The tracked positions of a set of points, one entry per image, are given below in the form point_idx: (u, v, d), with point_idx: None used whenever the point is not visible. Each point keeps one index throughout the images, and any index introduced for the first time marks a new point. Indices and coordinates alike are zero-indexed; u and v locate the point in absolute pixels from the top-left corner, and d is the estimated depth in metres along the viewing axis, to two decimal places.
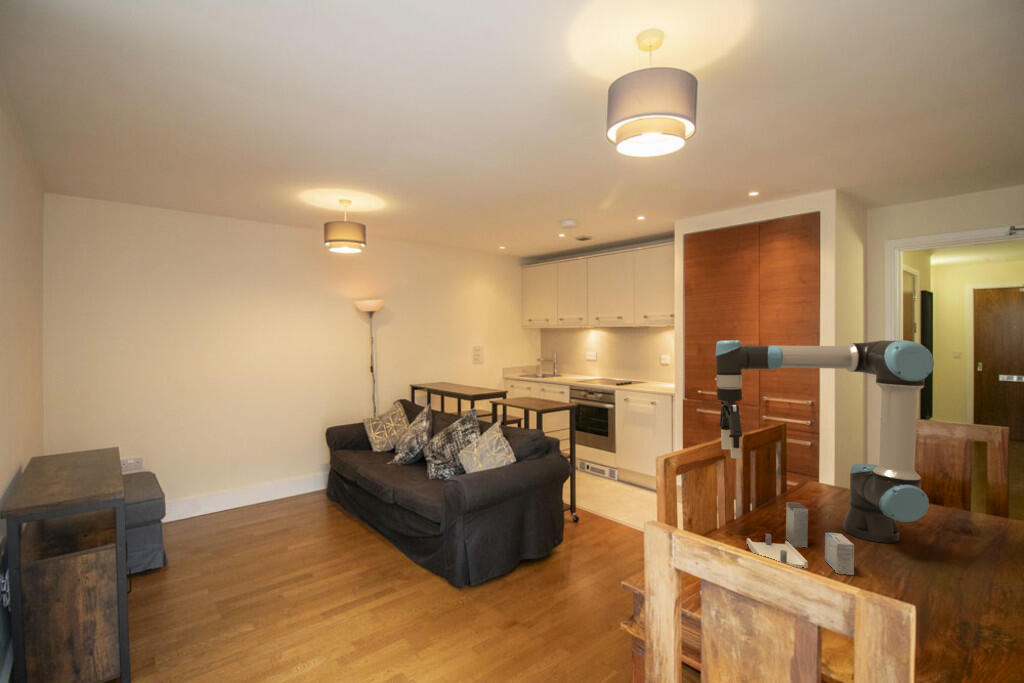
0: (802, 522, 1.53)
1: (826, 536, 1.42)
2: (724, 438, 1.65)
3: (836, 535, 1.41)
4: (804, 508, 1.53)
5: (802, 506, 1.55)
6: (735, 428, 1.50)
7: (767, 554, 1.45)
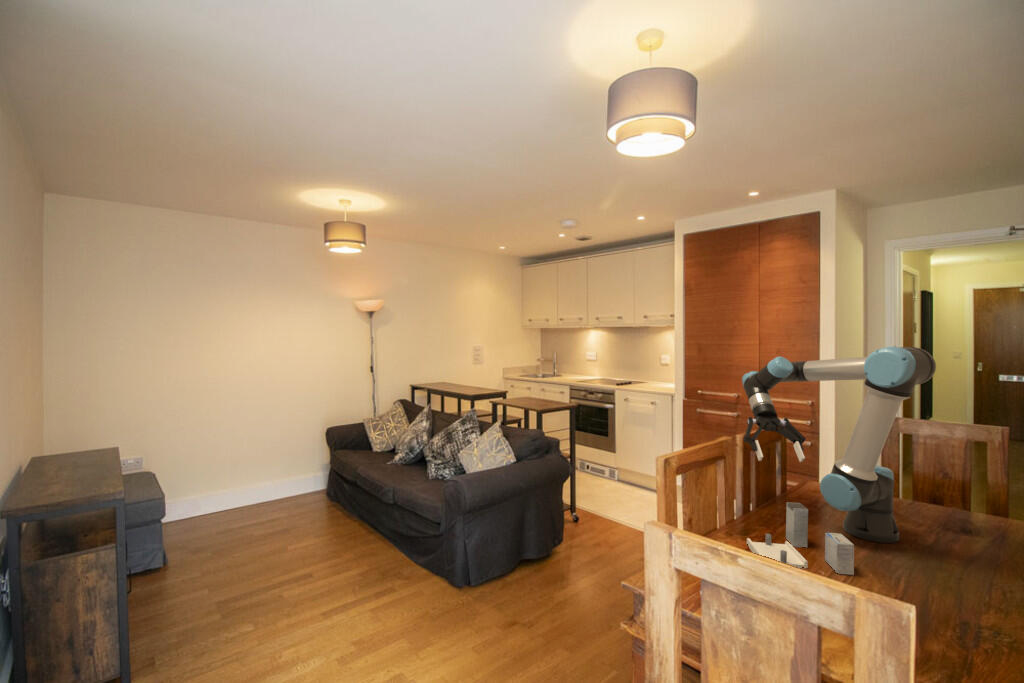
0: (802, 522, 1.53)
1: (826, 536, 1.42)
2: (796, 451, 1.69)
3: (836, 535, 1.41)
4: (804, 508, 1.53)
5: (802, 506, 1.55)
6: (745, 435, 1.74)
7: (767, 554, 1.45)
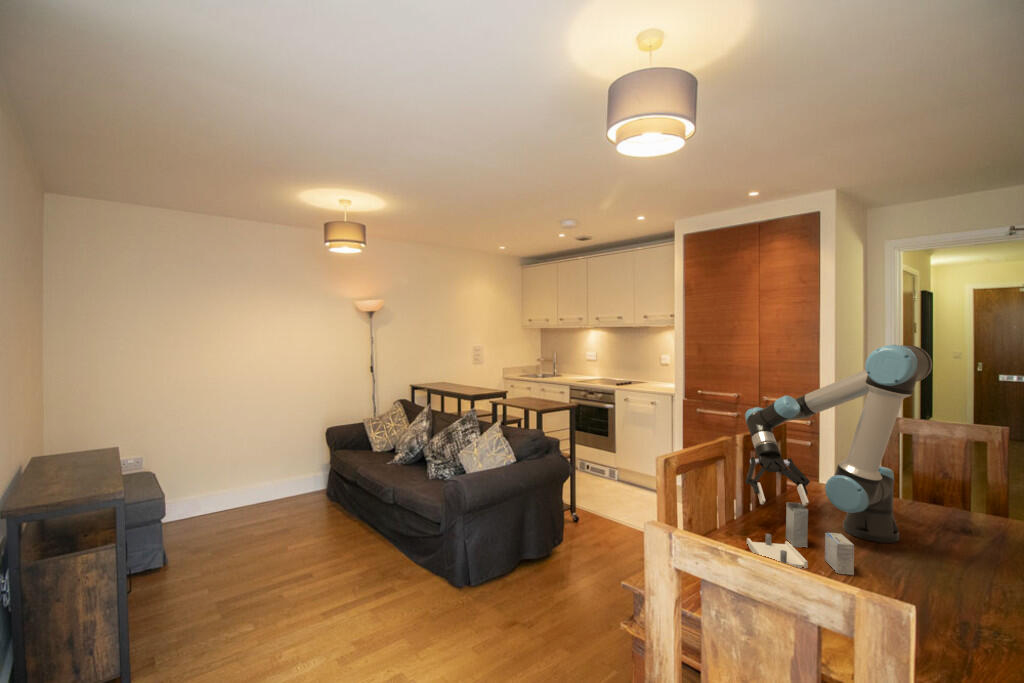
0: (802, 522, 1.53)
1: (826, 536, 1.42)
2: (800, 494, 1.64)
3: (836, 535, 1.41)
4: (804, 508, 1.53)
5: (802, 506, 1.55)
6: (747, 476, 1.69)
7: (767, 554, 1.45)
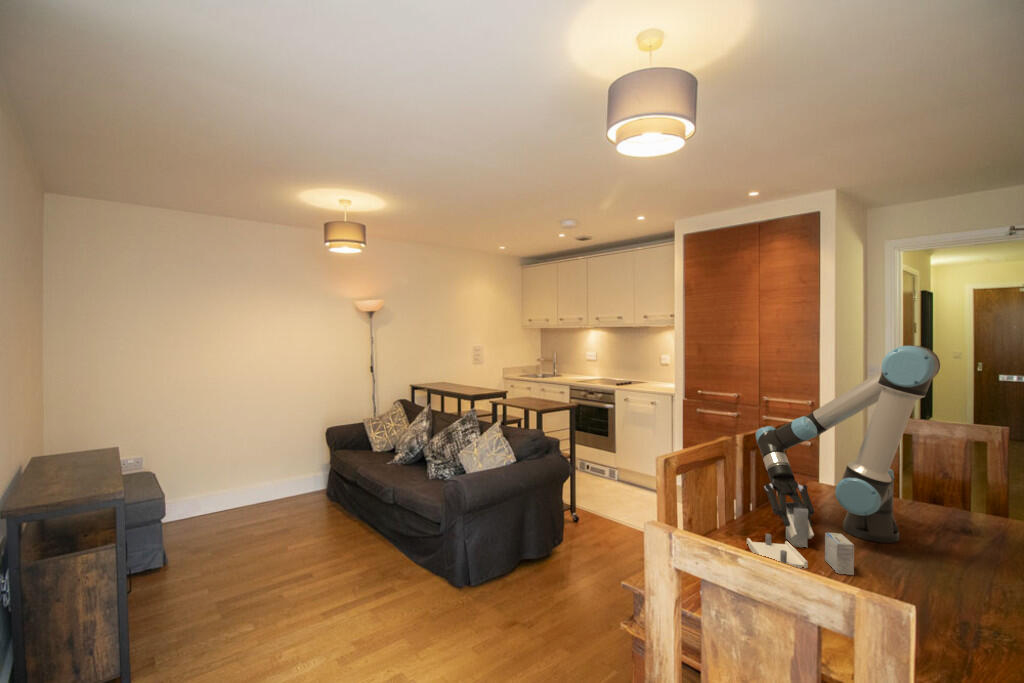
0: (802, 522, 1.53)
1: (826, 536, 1.42)
2: None
3: (836, 535, 1.41)
4: (804, 508, 1.53)
5: (802, 506, 1.55)
6: (772, 507, 1.59)
7: (767, 554, 1.45)
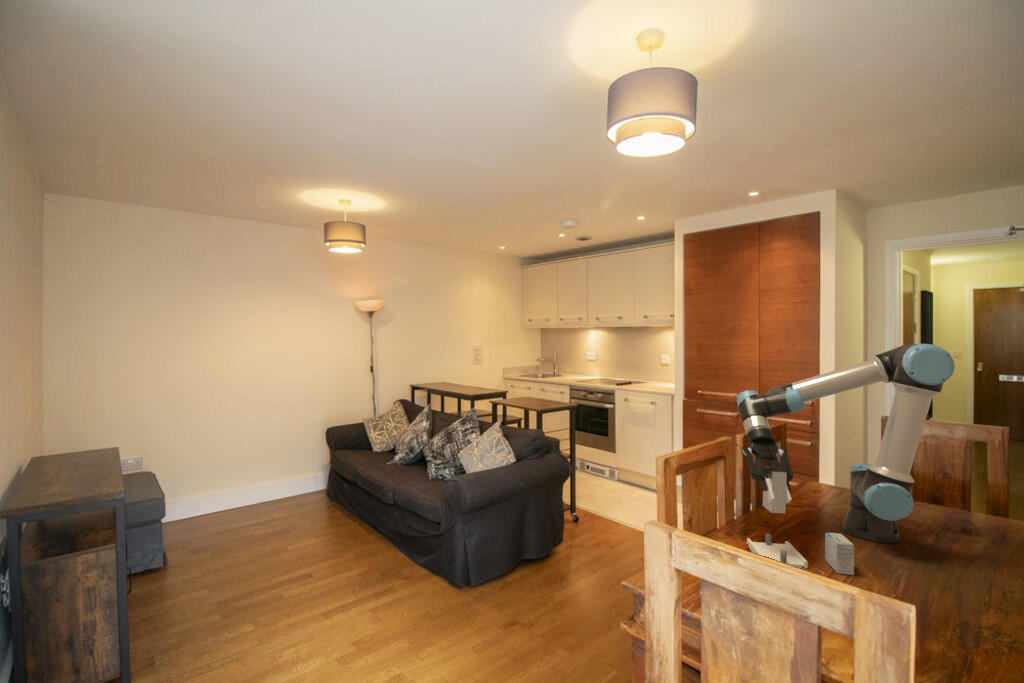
0: (780, 486, 1.44)
1: (826, 536, 1.42)
2: None
3: (836, 535, 1.41)
4: (782, 471, 1.45)
5: (780, 470, 1.46)
6: (750, 471, 1.51)
7: (767, 554, 1.45)
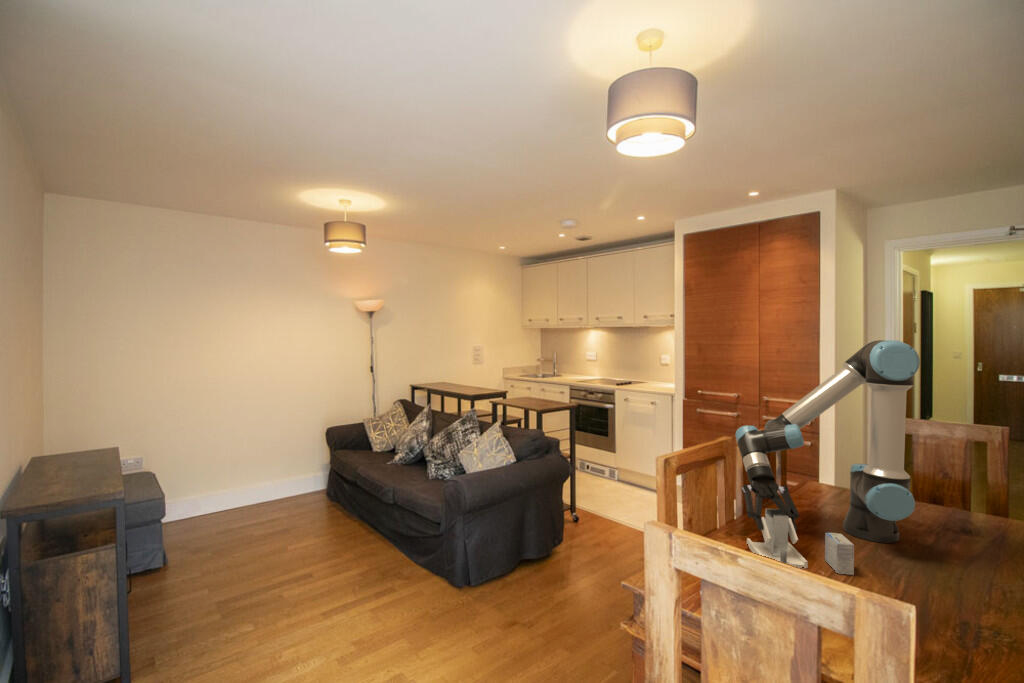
0: (782, 530, 1.43)
1: (826, 536, 1.42)
2: (788, 529, 1.46)
3: (836, 535, 1.41)
4: (784, 515, 1.44)
5: (782, 513, 1.46)
6: (747, 509, 1.50)
7: (767, 554, 1.45)
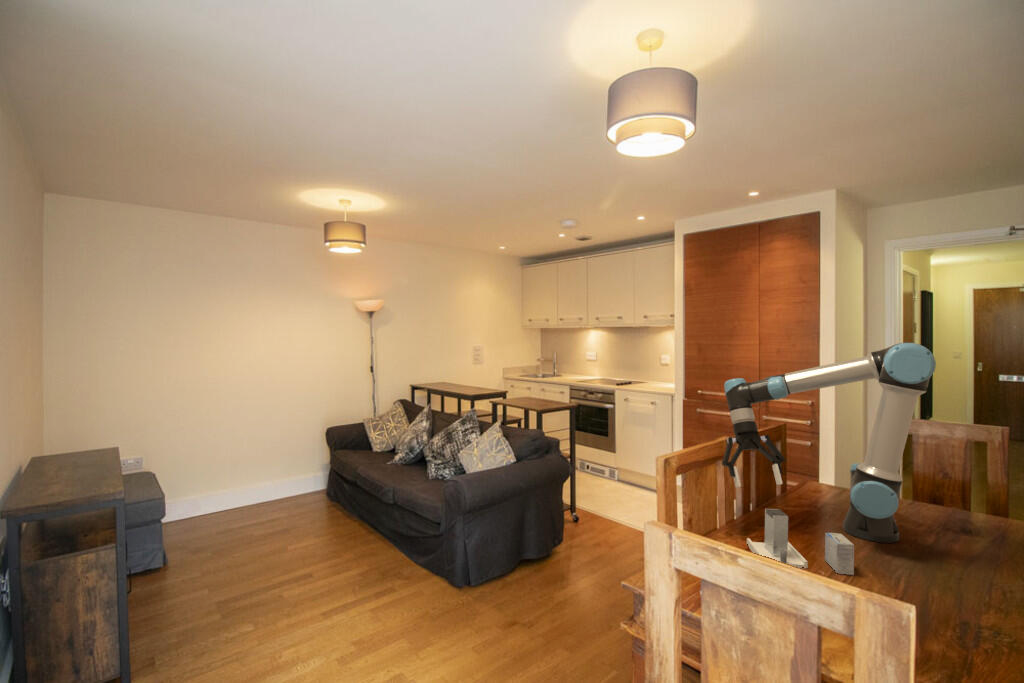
0: (782, 530, 1.43)
1: (826, 536, 1.42)
2: (774, 473, 1.65)
3: (836, 535, 1.41)
4: (784, 515, 1.44)
5: (782, 513, 1.46)
6: (723, 458, 1.67)
7: (767, 554, 1.45)
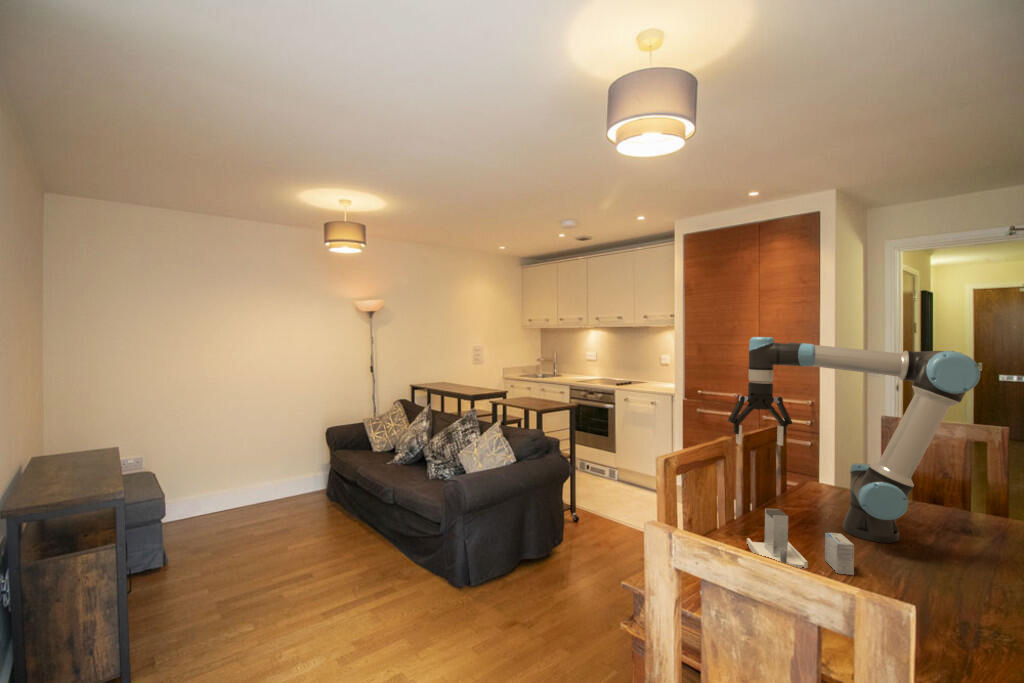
0: (782, 530, 1.43)
1: (826, 536, 1.42)
2: (778, 433, 1.68)
3: (836, 535, 1.41)
4: (784, 515, 1.44)
5: (782, 513, 1.46)
6: (731, 415, 1.68)
7: (767, 554, 1.45)
